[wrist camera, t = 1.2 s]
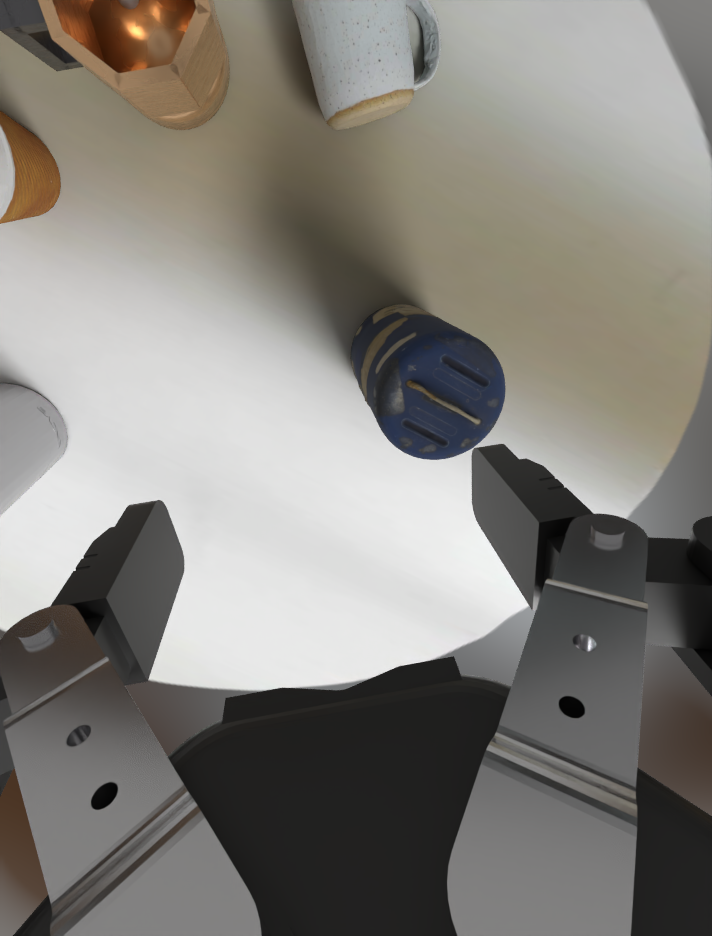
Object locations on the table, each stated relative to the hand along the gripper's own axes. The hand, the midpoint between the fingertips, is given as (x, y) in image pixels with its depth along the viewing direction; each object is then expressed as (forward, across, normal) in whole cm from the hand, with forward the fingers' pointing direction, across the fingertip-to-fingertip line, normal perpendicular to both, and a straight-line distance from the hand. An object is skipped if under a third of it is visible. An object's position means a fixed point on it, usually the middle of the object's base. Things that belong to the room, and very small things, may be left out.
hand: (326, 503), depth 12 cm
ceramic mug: (+36, +8, +18) cm, 41 cm away
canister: (+36, +8, -6) cm, 38 cm away
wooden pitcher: (+36, -8, +19) cm, 41 cm away
